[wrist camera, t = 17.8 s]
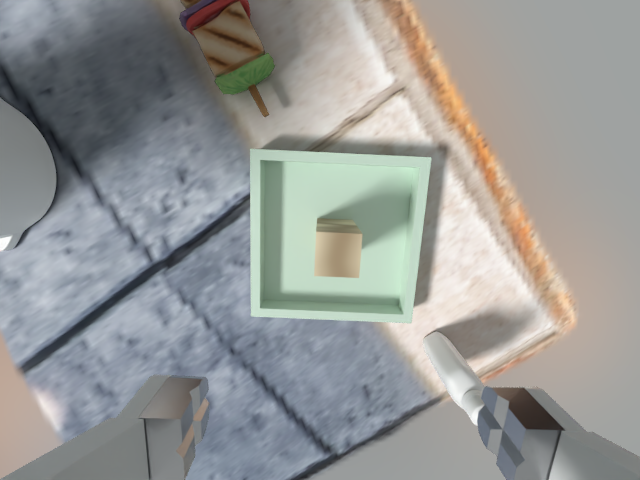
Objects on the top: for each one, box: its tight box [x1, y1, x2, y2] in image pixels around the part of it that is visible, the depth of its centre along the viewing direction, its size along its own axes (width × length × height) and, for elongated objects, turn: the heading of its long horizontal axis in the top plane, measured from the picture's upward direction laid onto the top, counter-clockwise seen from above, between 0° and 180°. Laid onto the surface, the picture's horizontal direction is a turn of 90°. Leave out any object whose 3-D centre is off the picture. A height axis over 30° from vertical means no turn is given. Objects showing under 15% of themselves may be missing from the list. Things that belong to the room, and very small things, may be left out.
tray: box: [250, 149, 432, 323], centre depth 33 cm, size 18×18×3 cm
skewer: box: [179, 0, 275, 117], centre depth 28 cm, size 21×6×5 cm, turn 26°
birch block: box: [314, 218, 363, 278], centre depth 30 cm, size 4×4×8 cm
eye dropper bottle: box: [423, 332, 485, 426], centre depth 32 cm, size 4×6×12 cm
